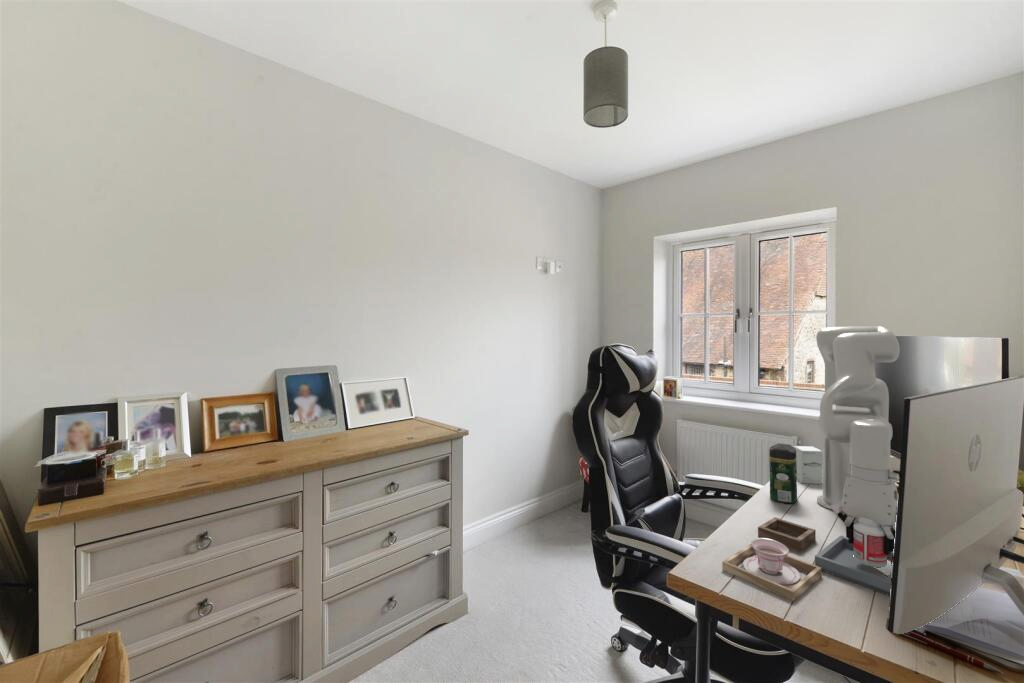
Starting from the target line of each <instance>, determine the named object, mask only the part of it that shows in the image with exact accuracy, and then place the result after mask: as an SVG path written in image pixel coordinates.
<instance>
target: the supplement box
mask: <svg viewBox="0 0 1024 683" xmlns="http://www.w3.org/2000/svg"><path fill="white" fill-rule="evenodd" d="M792 447H794V448H795V449H796V451H797V452H796V461H797V482H799V483H800V484H813V485H814V484H816V485H823V456H822V449H819V448H817V447H815V446H809V445H808V446H807V445H806V446H805V445H792Z"/></svg>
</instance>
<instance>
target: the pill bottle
mask: <svg viewBox="0 0 1024 683" xmlns="http://www.w3.org/2000/svg"><path fill="white" fill-rule="evenodd" d="M856 520H857V521H854V525H853V546H854V558H855V559H856V560H857V561H858V562H860V563H862V564H864V565H867V566H871V567H876V568H881V567H885V566H886V565H887V555H885V554H884V538H885V537H886V533H885V531H884V529H883V526H882V525H880V524H877V523H874V522H873V520H870V519H866V518H863V517H861V518H860V519H858V518H856Z"/></svg>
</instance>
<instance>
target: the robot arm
mask: <svg viewBox="0 0 1024 683" xmlns="http://www.w3.org/2000/svg"><path fill="white" fill-rule="evenodd" d="M815 339H816V346H817V349H818V350H819V353H820V355H821V356H822V359H823V362H824V393H823V395H822V397H821V400H820V402H819V403H820V404H819V417H818V424H819V430H820V436H821V443H822V444H821V448H822V449H821V451H822V456H823V465H822V466H823V468H822V469H823V483H822V495H819V496H817V497H816V502H817V503H818V504H819V505H820V506H822V507H823V508H826V509H829V510H832V511H833V512H834V513H835V514H836V515H837V516H838V518H839V519H840V520H841V521H842V523H843V525H844V526H845V537H847V538H848V542H849V543H851V544H852V543H853V525H854V523H855V522H856V520H857V518H858V519H860V518H861V517H863V518H866V519H870V520H873V522H874V523H877V524H880V525H882V527H883V529H884V531H885V533H886V537H885V538H884V554H885V555H889V554H890V553H891V552H893V549H894V539H895V540H896V537H895V529H896V528H895V525H896V524H895V523H897V522H896V515H897V501H898V500H899V495H898V489H897V485H896V484H897V483H896V482H895V481H894V480H897V481H898V480H899V476H900V475H899V473H896V472H894V471H893V470H892V468H891V440H892V438H893V434H894V433H893V432H894V431H893V426H892V424H891V422H889V412H890V411H889V410H890V409H889V408H890V395H889V394H890V392H889V387H888V386H887V384H886V382H885V381H884V380H882V379H880V378H877V376H876V370H875V365H874V363H894V362H896V361H897V360H898V358H899V356H900V352H901V350H900V349H901V348H900V347H901V346H900V343H899V340H898V338H897V336H896V334H895V333H893V332H892V331H891V330H890V329H888V328H887V327H885V326H880V325H873V326H870V325H867V326H865V325H864V326H860V325H859V326H848V325H847V326H846V325H845V326H830V327H825V328H820V329H819V330H818V331H817V333H816V337H815ZM833 406H834V407H835V406H836V407H844V408H845V407H848V408H859V409H860V408H862V409H868V410H857V409H856V410H855V409H854V410H853V409H840V408H839V409H838V408H833Z"/></svg>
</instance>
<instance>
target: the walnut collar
mask: <svg viewBox="0 0 1024 683" xmlns="http://www.w3.org/2000/svg"><path fill="white" fill-rule="evenodd" d="M779 531H780V532H779ZM782 532H783V533H782ZM791 535H792V536H791ZM816 537H817V536H816V529H814V528H811V527H808V526H805V525H800V524H798V523H796V522H795V523H794V522H792V521H787V520H785V519H781V518H778V517H772V518H771V519H769V520H768V521H766V522H764V523H763V524H762V523H761V525H759V526H758V527H757V538H768V539H772V540H775V541H778V542H780V543H782V544H783V545H785V546H786V547H787V548H788V550H792V551H794V552H797V553H801V552H803V551H804V550H805V549H806V548H808V547H809V546H811V544H813V543H815V542H816V539H817V538H816Z"/></svg>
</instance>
